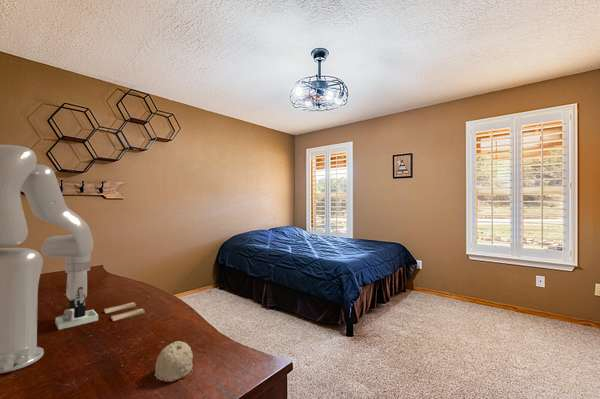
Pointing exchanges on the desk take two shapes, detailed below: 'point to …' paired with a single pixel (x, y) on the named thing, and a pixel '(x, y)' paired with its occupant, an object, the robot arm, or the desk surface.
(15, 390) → the desk surface
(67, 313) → the usb wall charger
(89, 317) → the tray
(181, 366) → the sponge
